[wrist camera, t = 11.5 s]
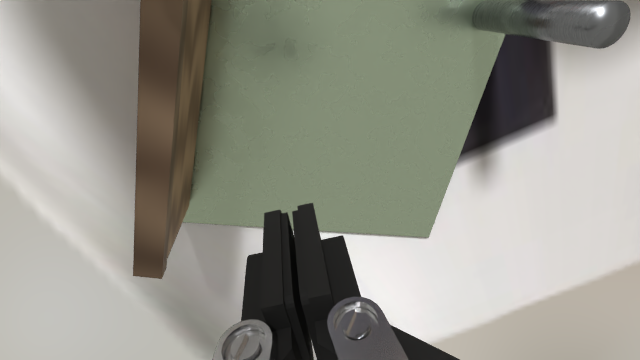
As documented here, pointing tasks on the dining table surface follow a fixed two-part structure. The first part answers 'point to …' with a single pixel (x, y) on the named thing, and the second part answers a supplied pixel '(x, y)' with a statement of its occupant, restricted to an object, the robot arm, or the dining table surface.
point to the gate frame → (356, 102)
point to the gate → (166, 124)
